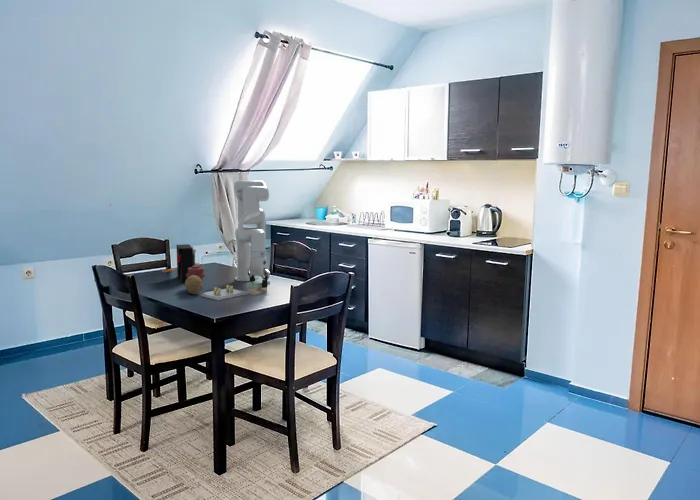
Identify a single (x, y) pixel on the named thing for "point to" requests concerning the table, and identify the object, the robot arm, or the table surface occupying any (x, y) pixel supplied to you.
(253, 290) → the oak block
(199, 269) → the mechanical component
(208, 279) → the table surface
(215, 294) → the plate
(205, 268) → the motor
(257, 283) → the board
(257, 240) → the robot arm
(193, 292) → the natural sponge
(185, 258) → the electrical component
